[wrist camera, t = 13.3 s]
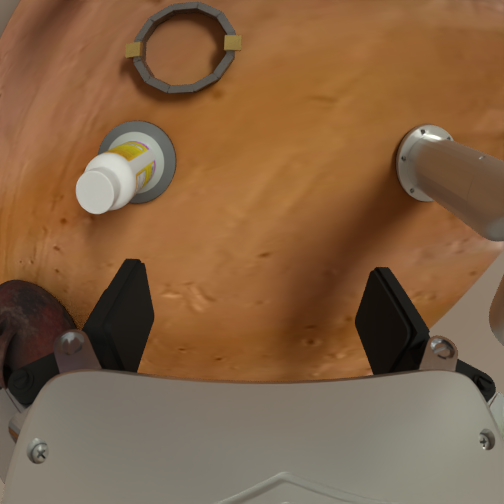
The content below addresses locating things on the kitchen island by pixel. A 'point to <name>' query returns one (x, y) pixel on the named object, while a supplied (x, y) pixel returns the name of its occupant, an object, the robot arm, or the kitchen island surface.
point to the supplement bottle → (115, 177)
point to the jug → (27, 325)
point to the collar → (139, 46)
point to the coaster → (159, 146)
